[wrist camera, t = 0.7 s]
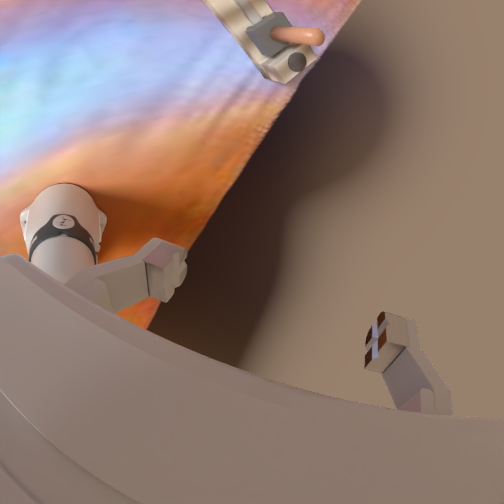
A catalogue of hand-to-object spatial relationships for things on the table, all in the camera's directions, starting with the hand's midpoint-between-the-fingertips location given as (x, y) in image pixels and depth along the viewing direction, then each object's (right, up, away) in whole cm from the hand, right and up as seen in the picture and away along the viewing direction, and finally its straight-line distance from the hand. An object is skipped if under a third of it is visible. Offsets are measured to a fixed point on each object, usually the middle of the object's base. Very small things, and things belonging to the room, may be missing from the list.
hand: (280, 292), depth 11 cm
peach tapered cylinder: (+1, +41, +27) cm, 49 cm away
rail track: (-3, +44, +24) cm, 51 cm away
